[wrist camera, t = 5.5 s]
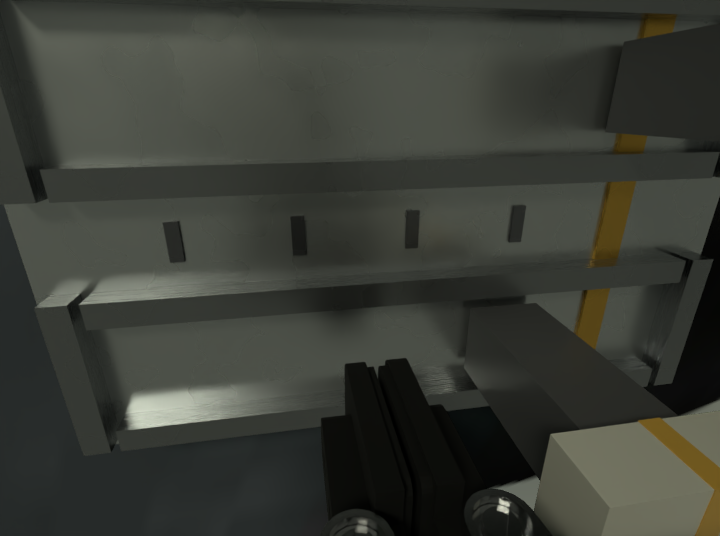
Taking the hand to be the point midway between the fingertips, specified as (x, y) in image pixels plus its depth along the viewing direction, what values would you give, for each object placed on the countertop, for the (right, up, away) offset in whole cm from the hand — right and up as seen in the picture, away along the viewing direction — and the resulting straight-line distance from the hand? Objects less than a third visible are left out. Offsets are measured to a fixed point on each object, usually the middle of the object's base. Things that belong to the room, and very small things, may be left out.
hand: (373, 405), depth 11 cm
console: (+1, +6, +3) cm, 7 cm away
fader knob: (+5, +1, +3) cm, 6 cm away
